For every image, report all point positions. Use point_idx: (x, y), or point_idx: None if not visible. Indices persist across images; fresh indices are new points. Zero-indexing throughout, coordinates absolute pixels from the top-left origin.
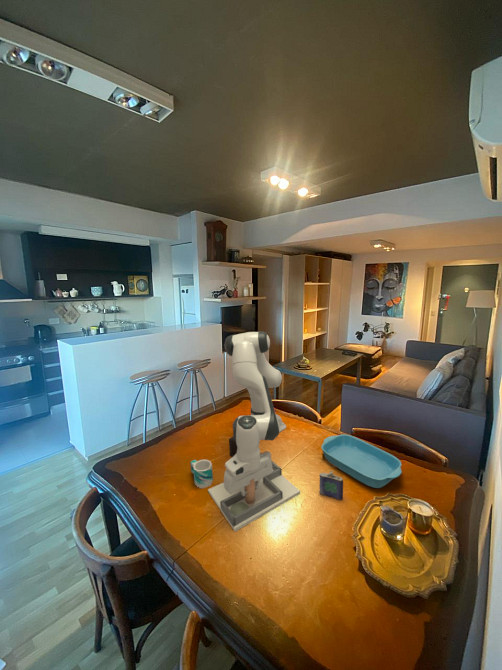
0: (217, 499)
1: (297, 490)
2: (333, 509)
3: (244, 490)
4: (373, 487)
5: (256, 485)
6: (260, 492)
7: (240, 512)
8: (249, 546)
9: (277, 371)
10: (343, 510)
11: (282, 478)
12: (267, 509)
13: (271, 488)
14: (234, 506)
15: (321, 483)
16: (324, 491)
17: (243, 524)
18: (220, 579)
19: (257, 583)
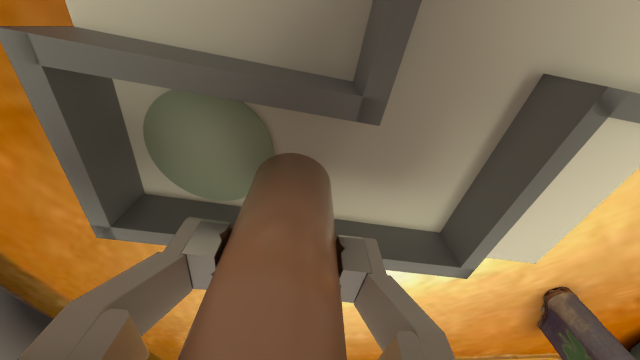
0: None
1: (535, 255)
2: (488, 328)
3: (199, 275)
4: (631, 350)
5: (354, 297)
6: (423, 137)
7: (205, 171)
8: None
9: None
10: (496, 339)
11: (631, 155)
12: None
13: (485, 186)
14: (190, 106)
15: (597, 356)
16: (561, 319)
17: None
18: (46, 279)
19: (156, 323)
